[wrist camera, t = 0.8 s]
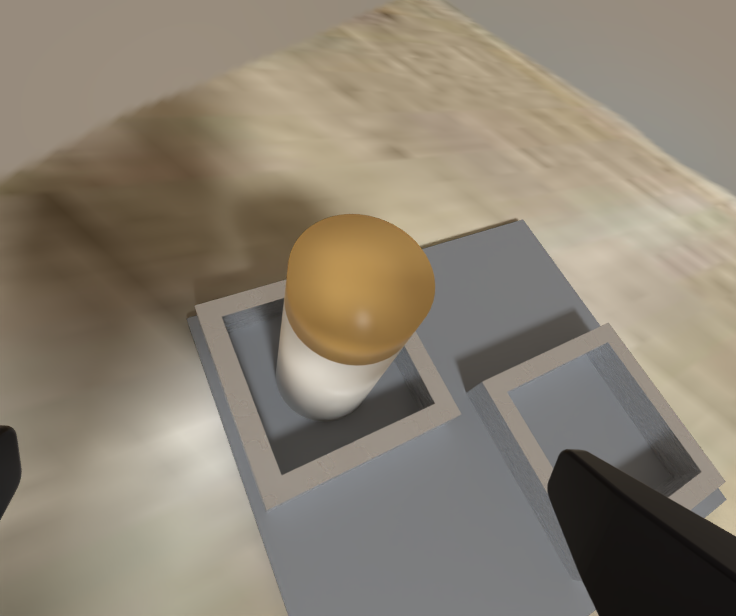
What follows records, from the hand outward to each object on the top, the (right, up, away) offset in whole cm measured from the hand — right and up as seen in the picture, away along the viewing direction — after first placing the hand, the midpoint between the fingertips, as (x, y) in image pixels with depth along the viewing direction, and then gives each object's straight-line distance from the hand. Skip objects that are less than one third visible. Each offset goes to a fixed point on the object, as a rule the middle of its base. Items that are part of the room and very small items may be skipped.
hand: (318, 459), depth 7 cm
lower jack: (+13, -5, +17) cm, 22 cm away
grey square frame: (-2, -1, +16) cm, 16 cm away
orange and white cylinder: (-2, -1, +16) cm, 16 cm away
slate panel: (+6, -3, +17) cm, 18 cm away
